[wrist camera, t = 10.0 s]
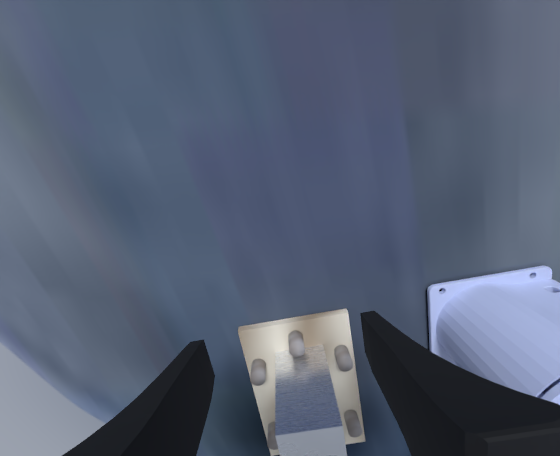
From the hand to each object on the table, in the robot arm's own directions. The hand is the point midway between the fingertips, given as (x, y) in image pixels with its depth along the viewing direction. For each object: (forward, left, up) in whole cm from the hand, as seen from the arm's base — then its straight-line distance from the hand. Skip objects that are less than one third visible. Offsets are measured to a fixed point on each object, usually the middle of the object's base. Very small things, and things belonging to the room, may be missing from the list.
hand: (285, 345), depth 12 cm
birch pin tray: (0, +12, -9) cm, 15 cm away
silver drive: (0, +12, -9) cm, 15 cm away
